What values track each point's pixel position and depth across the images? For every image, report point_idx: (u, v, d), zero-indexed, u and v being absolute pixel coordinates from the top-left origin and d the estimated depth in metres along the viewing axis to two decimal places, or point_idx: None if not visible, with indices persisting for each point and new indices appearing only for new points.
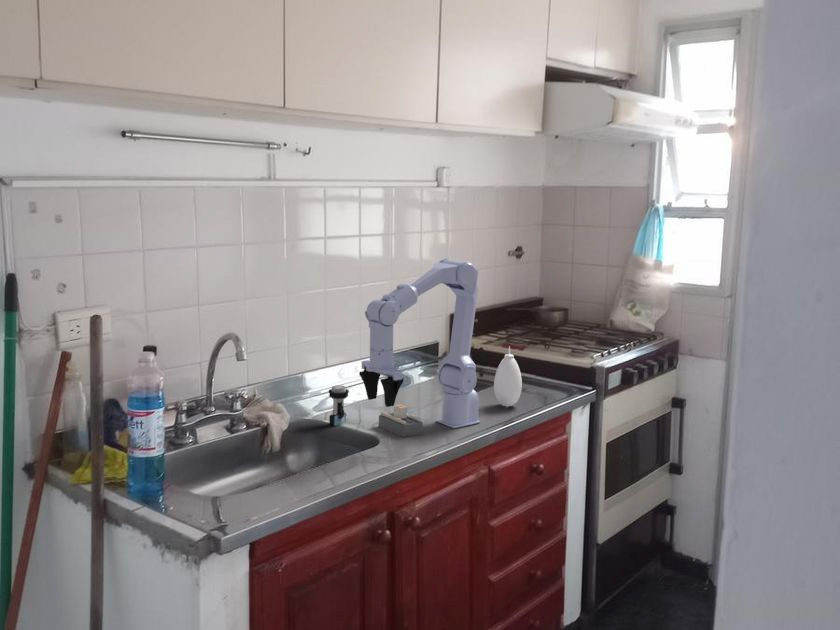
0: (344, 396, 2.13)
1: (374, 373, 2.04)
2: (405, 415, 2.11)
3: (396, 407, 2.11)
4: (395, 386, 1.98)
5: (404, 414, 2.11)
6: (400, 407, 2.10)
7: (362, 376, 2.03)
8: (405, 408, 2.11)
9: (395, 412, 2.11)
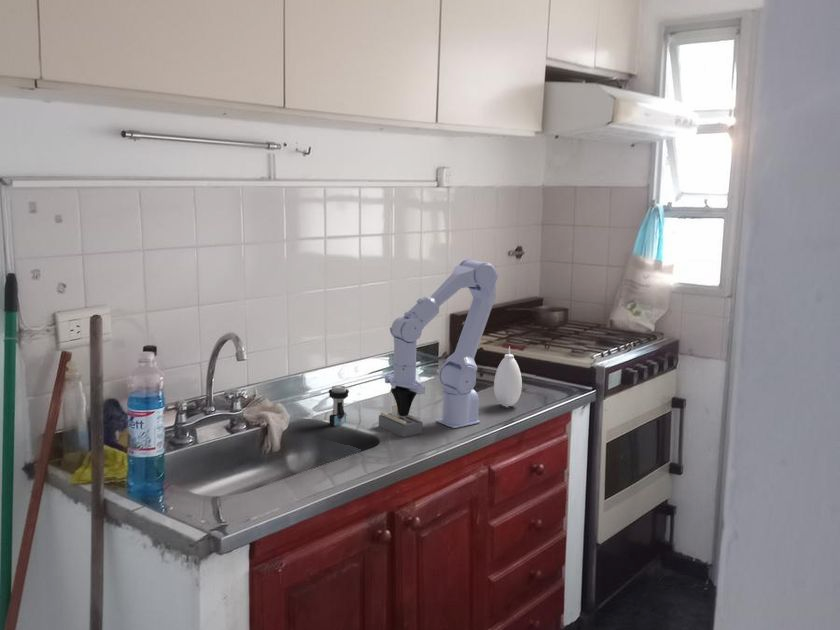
0: (344, 396, 2.13)
1: None
2: None
3: (394, 406, 2.12)
4: (409, 397, 2.10)
5: None
6: None
7: (394, 393, 2.09)
8: None
9: (393, 411, 2.12)
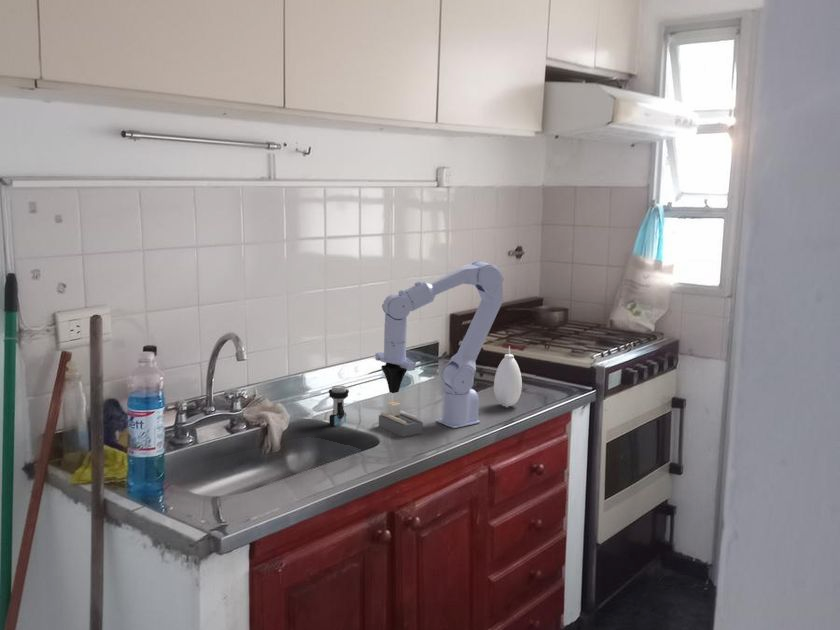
0: (344, 396, 2.13)
1: None
2: (398, 412, 2.14)
3: (389, 404, 2.13)
4: (400, 374, 2.12)
5: (397, 411, 2.13)
6: (393, 404, 2.13)
7: (384, 370, 2.11)
8: (398, 405, 2.13)
9: (388, 409, 2.14)
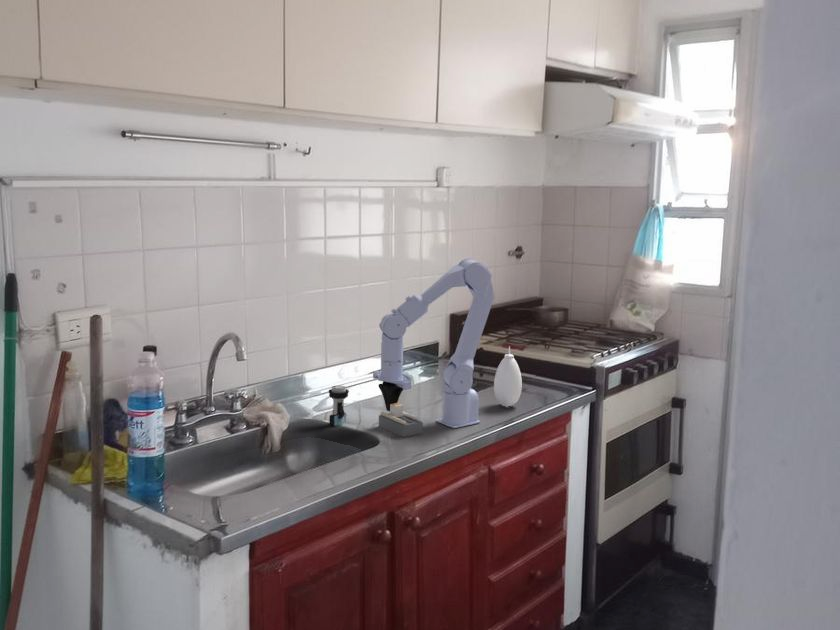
0: (344, 396, 2.13)
1: None
2: (401, 413, 2.13)
3: (392, 405, 2.12)
4: (397, 392, 2.14)
5: (400, 412, 2.12)
6: (396, 405, 2.12)
7: (381, 388, 2.13)
8: (401, 406, 2.12)
9: (391, 410, 2.13)
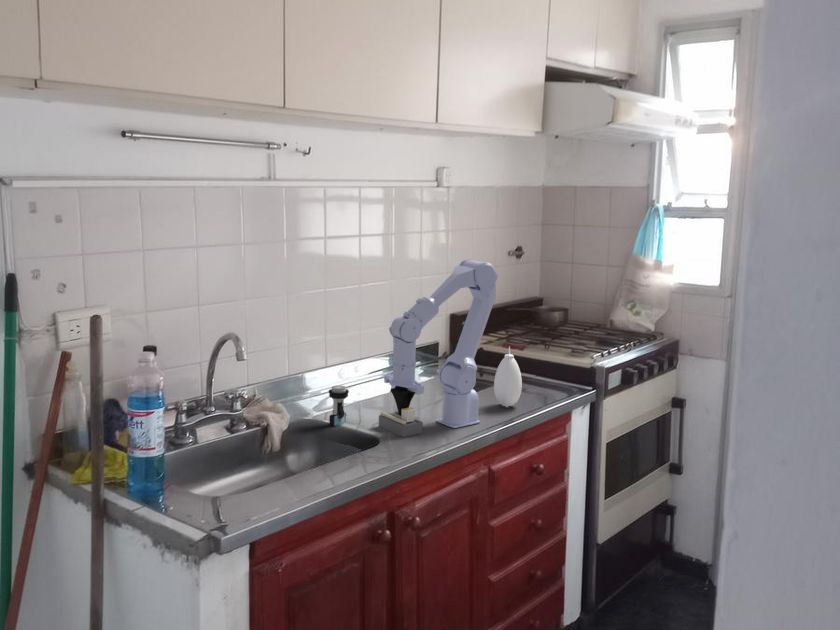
0: (344, 396, 2.13)
1: None
2: (413, 418, 2.09)
3: (403, 410, 2.08)
4: (408, 396, 2.10)
5: (411, 417, 2.08)
6: (407, 410, 2.08)
7: (393, 393, 2.09)
8: (412, 411, 2.08)
9: (402, 415, 2.09)
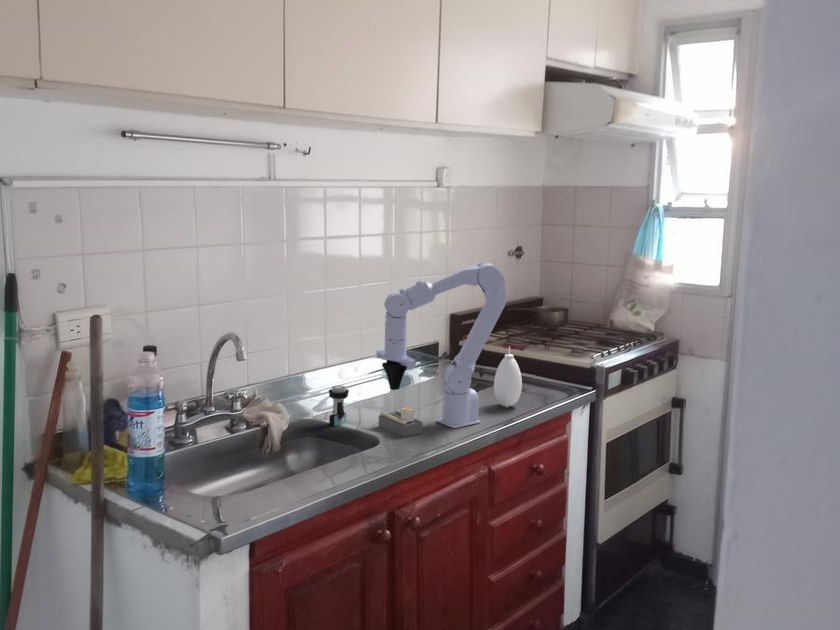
0: (344, 396, 2.13)
1: None
2: (412, 418, 2.09)
3: (403, 410, 2.08)
4: (400, 371, 2.15)
5: (411, 417, 2.09)
6: (407, 410, 2.08)
7: (385, 367, 2.15)
8: (412, 411, 2.08)
9: (402, 415, 2.09)
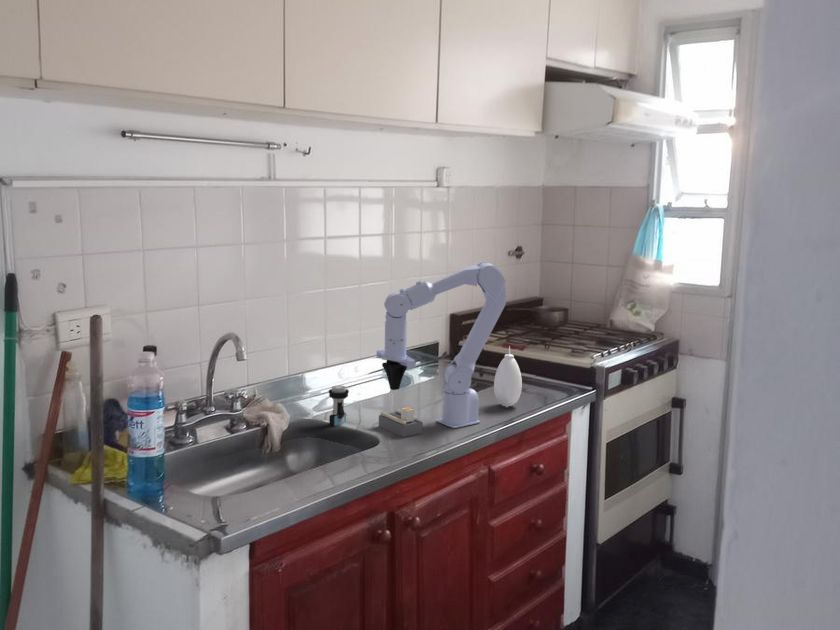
0: (344, 396, 2.13)
1: None
2: (412, 418, 2.09)
3: (403, 410, 2.08)
4: (400, 371, 2.15)
5: (411, 417, 2.09)
6: (407, 410, 2.08)
7: (385, 367, 2.15)
8: (412, 411, 2.08)
9: (402, 415, 2.09)
